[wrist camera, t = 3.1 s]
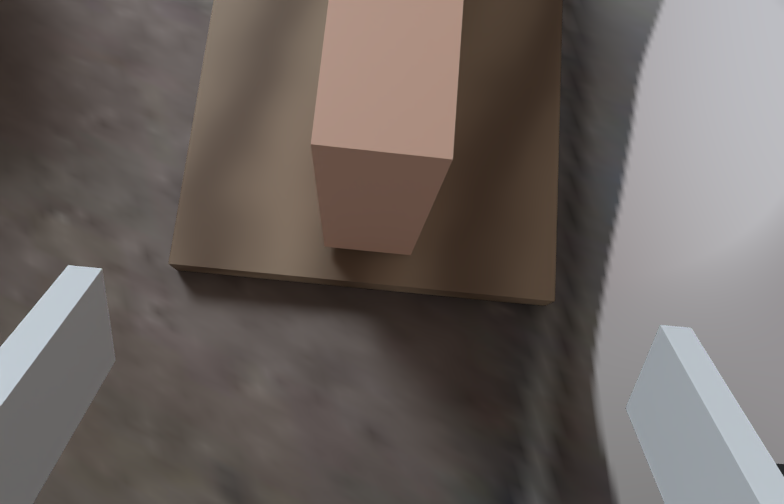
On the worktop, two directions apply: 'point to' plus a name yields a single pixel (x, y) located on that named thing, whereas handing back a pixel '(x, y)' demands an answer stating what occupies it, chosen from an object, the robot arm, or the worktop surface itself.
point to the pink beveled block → (384, 119)
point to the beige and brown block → (296, 170)
